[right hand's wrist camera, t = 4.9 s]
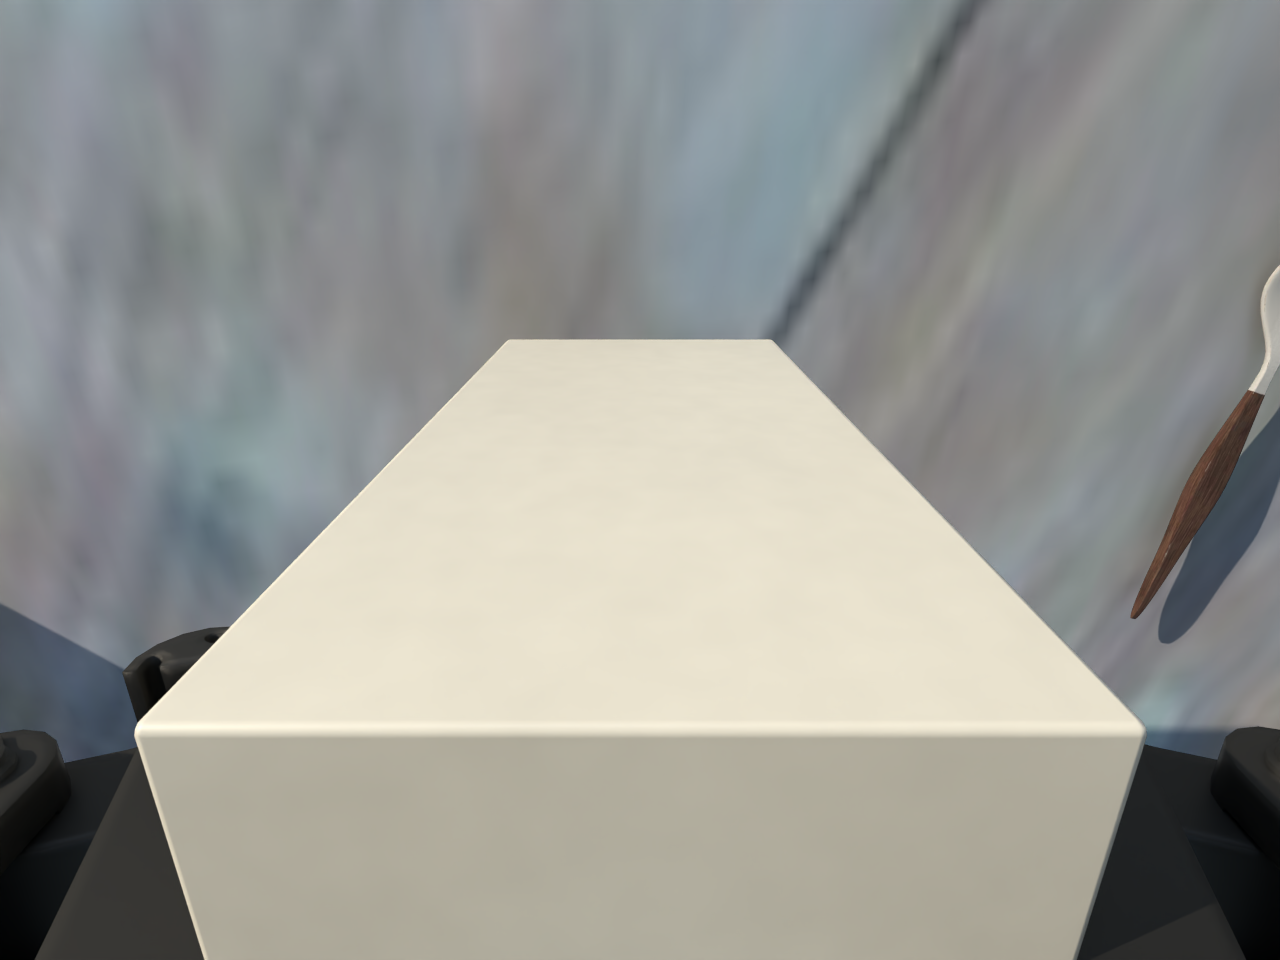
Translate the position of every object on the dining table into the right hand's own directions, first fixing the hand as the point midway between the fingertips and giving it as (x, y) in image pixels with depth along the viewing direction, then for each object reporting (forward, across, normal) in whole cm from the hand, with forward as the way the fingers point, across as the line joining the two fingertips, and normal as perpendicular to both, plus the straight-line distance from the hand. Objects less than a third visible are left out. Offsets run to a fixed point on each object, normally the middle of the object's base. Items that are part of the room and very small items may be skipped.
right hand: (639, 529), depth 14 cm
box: (+3, 0, -10) cm, 11 cm away
